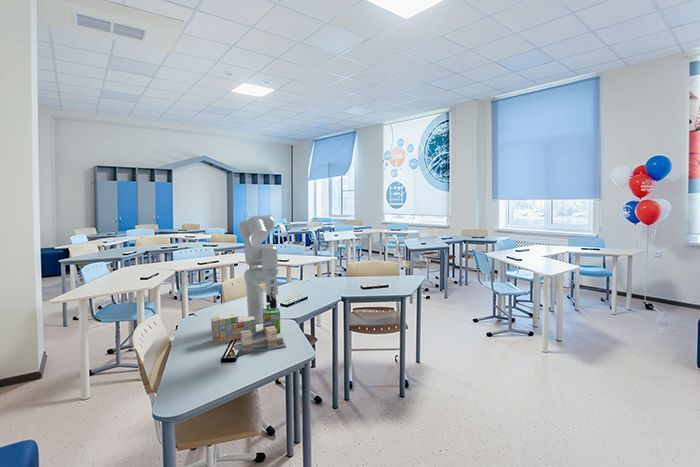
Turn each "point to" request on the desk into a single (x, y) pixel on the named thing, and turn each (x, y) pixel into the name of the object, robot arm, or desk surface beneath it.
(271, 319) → the chalk box
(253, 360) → the desk surface
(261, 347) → the rail fixture
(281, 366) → the desk surface
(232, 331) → the stack of blocks
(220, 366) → the desk surface
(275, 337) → the block
